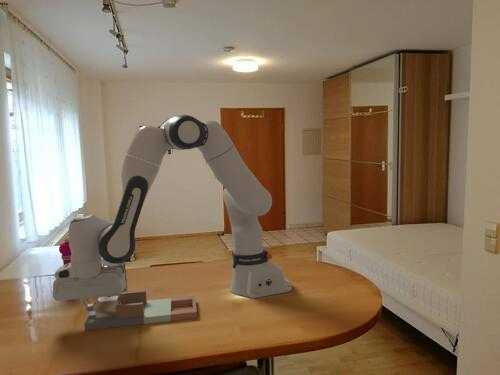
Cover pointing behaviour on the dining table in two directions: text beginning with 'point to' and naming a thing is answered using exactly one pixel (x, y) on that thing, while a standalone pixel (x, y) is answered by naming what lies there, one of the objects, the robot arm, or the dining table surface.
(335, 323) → the dining table surface
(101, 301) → the birch block
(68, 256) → the pepper mill
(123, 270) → the syrup box
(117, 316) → the board
